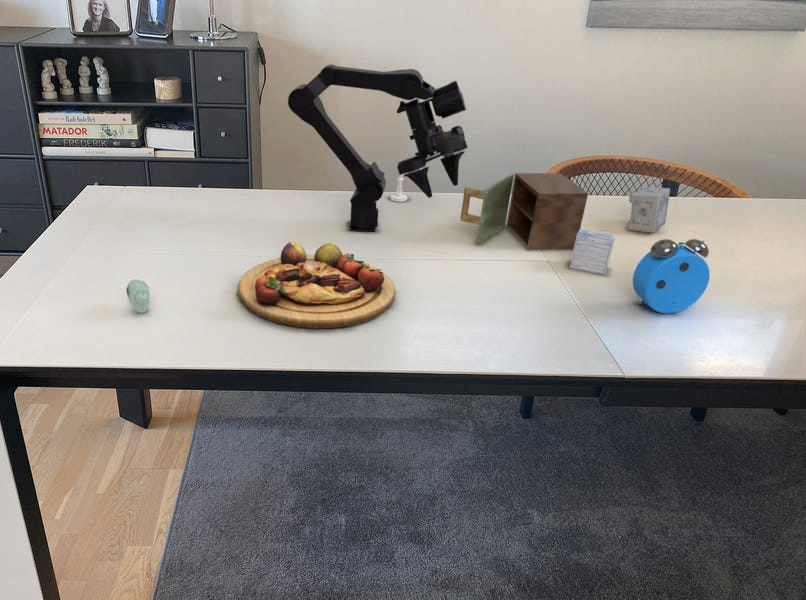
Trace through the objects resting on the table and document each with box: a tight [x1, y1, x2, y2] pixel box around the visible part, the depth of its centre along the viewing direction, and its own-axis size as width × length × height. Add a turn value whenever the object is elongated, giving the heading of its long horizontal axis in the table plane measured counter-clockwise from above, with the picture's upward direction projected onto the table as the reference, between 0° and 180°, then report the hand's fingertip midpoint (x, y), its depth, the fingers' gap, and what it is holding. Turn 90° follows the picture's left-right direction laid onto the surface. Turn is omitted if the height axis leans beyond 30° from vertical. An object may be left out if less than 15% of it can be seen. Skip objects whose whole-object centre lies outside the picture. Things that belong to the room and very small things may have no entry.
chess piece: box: [389, 170, 408, 203], centre depth 195 cm, size 5×5×10 cm
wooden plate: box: [237, 240, 396, 329], centre depth 141 cm, size 32×32×8 cm
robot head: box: [126, 279, 150, 314], centre depth 132 cm, size 8×4×7 cm, turn 17°
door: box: [460, 173, 515, 245], centre depth 174 cm, size 7×16×14 cm, turn 146°
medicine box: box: [569, 226, 616, 275], centre depth 158 cm, size 8×4×9 cm, turn 65°
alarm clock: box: [632, 238, 711, 315], centre depth 140 cm, size 13×6×15 cm, turn 97°
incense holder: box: [627, 186, 671, 233], centre depth 182 cm, size 10×8×10 cm
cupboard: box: [505, 172, 589, 251], centre depth 173 cm, size 12×16×14 cm
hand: (443, 191), depth 166 cm, fingers open, 9 cm apart
